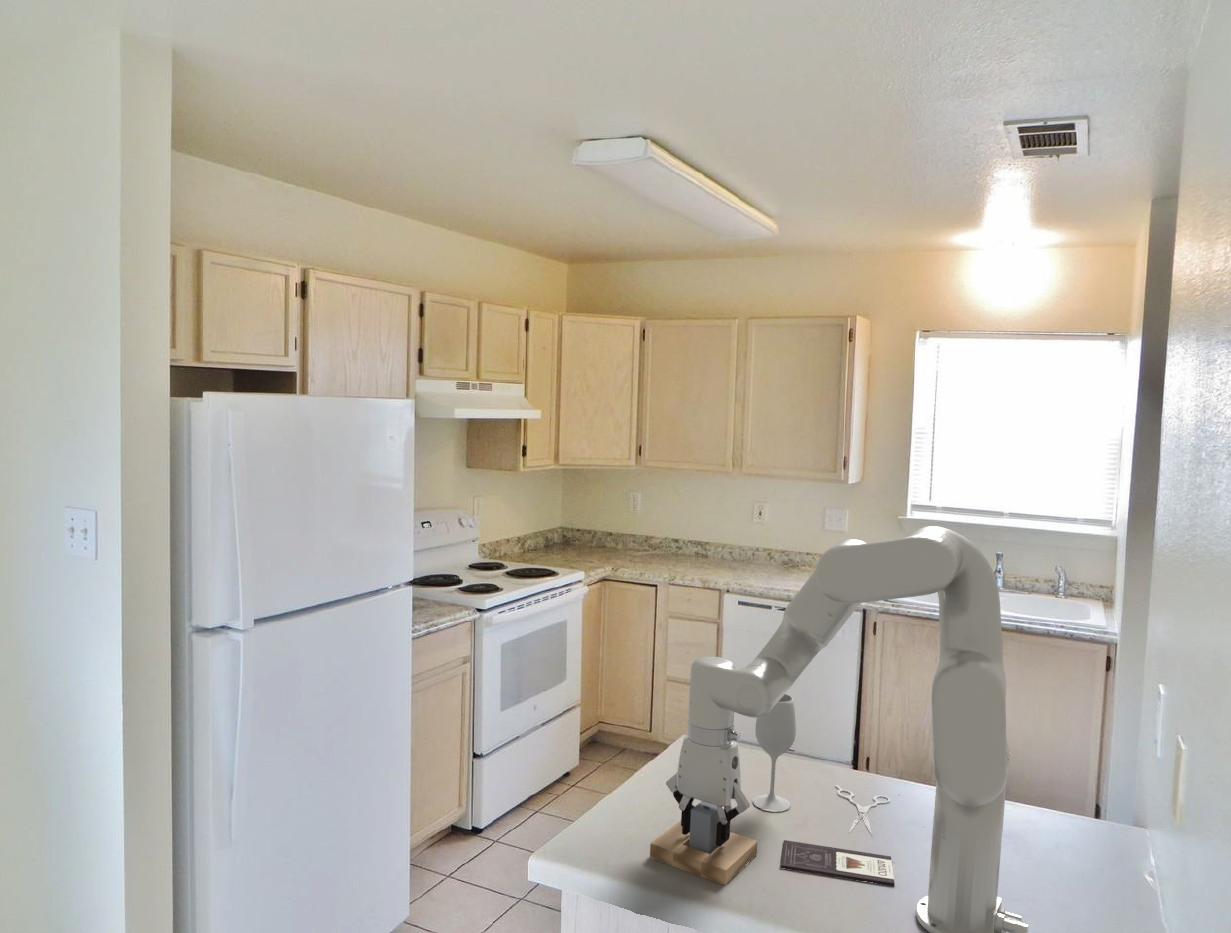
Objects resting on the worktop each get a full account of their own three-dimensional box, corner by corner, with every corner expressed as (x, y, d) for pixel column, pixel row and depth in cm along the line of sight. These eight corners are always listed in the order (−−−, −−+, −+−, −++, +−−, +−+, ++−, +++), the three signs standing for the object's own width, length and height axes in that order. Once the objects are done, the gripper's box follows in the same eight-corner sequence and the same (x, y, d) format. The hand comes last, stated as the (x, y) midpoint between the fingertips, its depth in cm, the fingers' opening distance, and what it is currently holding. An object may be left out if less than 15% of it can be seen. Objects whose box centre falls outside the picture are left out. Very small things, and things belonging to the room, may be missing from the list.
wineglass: (743, 798, 173) (749, 692, 171) (776, 792, 176) (782, 688, 175) (766, 815, 166) (772, 705, 165) (799, 809, 169) (805, 701, 168)
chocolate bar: (783, 839, 156) (891, 856, 152) (783, 845, 156) (890, 861, 152) (781, 865, 147) (894, 883, 143) (780, 870, 147) (894, 888, 143)
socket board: (756, 855, 151) (757, 840, 151) (725, 885, 141) (726, 870, 141) (684, 830, 159) (685, 816, 159) (649, 857, 149) (650, 843, 149)
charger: (719, 854, 151) (722, 804, 150) (707, 865, 147) (710, 814, 147) (700, 848, 153) (702, 799, 152) (688, 858, 149) (691, 808, 148)
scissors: (889, 793, 178) (891, 837, 159) (889, 796, 178) (891, 842, 159) (835, 784, 181) (830, 827, 162) (835, 788, 181) (830, 831, 162)
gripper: (767, 738, 147) (761, 844, 148) (676, 714, 156) (671, 814, 158) (747, 752, 141) (741, 862, 142) (654, 726, 150) (649, 830, 151)
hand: (704, 836), depth 150 cm, fingers open, 5 cm apart
